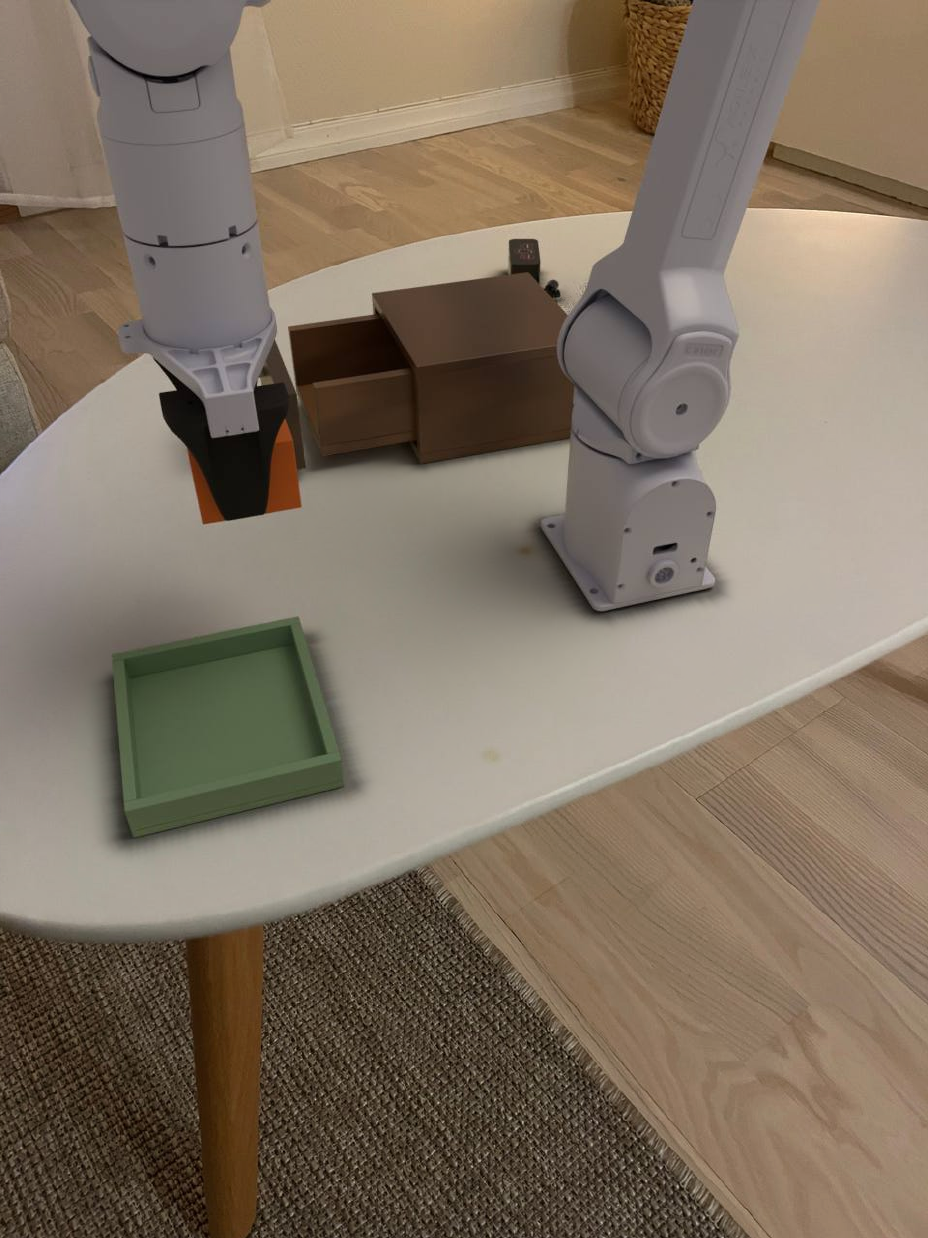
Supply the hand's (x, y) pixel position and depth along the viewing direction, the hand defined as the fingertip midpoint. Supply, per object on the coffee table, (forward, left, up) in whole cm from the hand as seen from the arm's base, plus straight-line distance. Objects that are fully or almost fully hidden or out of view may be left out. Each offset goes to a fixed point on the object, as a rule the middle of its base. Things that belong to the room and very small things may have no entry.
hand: (238, 489), depth 52 cm
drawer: (+21, -8, -9) cm, 24 cm away
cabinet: (+21, -20, -10) cm, 31 cm away
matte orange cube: (0, 0, 0) cm, 1 cm away
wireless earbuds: (+41, -32, -10) cm, 53 cm away
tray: (-7, +3, -10) cm, 13 cm away
